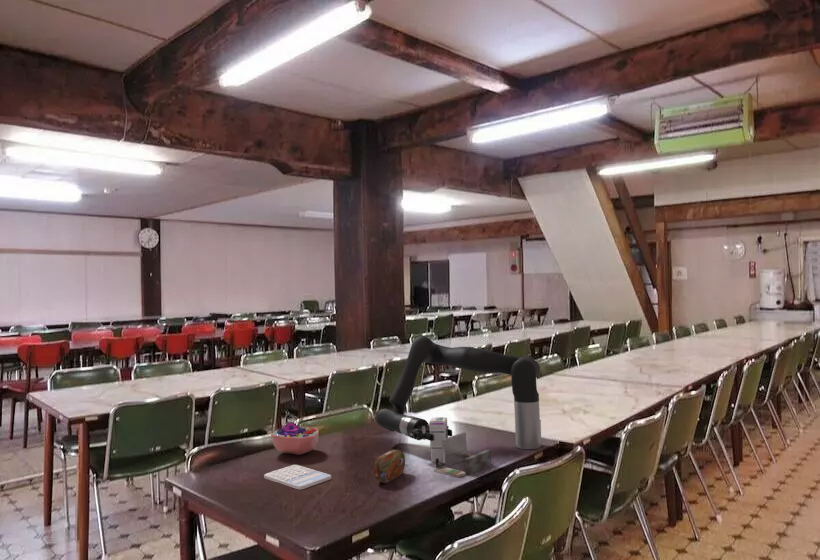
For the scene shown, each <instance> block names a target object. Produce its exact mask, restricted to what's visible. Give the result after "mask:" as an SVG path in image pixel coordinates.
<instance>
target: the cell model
mask: <svg viewBox="0 0 820 560" xmlns="http://www.w3.org/2000/svg"><path fill="white" fill-rule="evenodd" d="M269 434H270V436H271V439H272V444H273V446H274V448H275V449H276V450H277V451H278V452H280V453H283V454H293V455H298V456H300V455H303V454H306V453H307V454H308V453H310V452H311V451H313V450H314V448H315V447H316V445H317V443H318V442H319V429H318V428H317V427H314V426H312V427H311V426H304V425H303V426H301V425H299V426H298V425H297V423H295V422H292V421H290V422H289V421H288V422H287V423H285V424H284V426H283V427H281V428H277V429H275V430H273V431H271V432H270V433H269Z"/></svg>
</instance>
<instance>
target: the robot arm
mask: <svg viewBox="0 0 820 560" xmlns="http://www.w3.org/2000/svg"><path fill="white" fill-rule="evenodd" d="M423 363H425V364H437V365H445V366H450V367H453V368H457V369H461V370H465V371H470V372H474V373H481V374H483V373H484V374H504V375H510V377H511V389H512V392H511V393H512V395H513V402H514V403H513V405H514V406H513V407H514V408H513V409H514V424H515V425H514V429H515V430H514V432H515V433H514V434H515V447H517V448H518V449H521V450H536V449H540V448H541V446H542V421H541V418H540V417H541V415H540V395H539V392H538V389H537V378H538V376H539V375H540V372H541V367H540V365H539V362H538V361H537V360H536V359H534V358H533V357H529V356H519V355H507V354H504V353H503V354H502V353H499V352H496V351H493V350H492V351H490V350H487V349H483V348H477V347H473V346H457V347H455V346H454V347H449V346H445V345H440V344H438V343H435V342H433V341H432V339H431V338H430V337H428V336H424V335H421V336H418V337H416V338H415V339H414V340H413V341H412V343H411V346H410V348H409V353H408V356H407V358H406V362H405V363H404V367H403V370H402V372H401V374H400V377H399V378H398V381H397V383H396V385H395V387H394V389H393V390H392V393H391V395H390V397H389V399H388V401H389V403H390V404H391V405H392V406H393V409H392V410H391V409H389V408H382V409H380V410H378V411H377V412H376V415H375V422H376V423H377V425H378V426H380V427H381V428H383V429H386V430H387V431H390V432H397V433H399V434H401V435H404V436H406V437H409V438H411V439H414V440H416V441H422V440H424V441H425V440H427V441H429V442H430V441H434V435H433V434H430V427H429V423H428V422H429V421H427V420H426V419H424V418H421V417H417V416H412V415H407V414H405V412H406V407H407V404H408V402H409V400H410V398H411V396H412V395H413V392H414V389H415V384H416V379H417V376H418V373H419V370H420V368H421V366H422V365H423ZM447 427H448V437H451V436H453V430H452V429H450V428H449V425H447Z"/></svg>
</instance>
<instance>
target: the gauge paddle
mask: <svg viewBox="0 0 820 560" xmlns="http://www.w3.org/2000/svg"><path fill="white" fill-rule="evenodd" d="M442 447H443V463H439V459H438V458H436V462H435V468H440V467H442V466H443V467H446V468H447V467H449V466H451V465H453V464H455V463H458V462H461V461H462V460H464V459H465V458H467V454H468V453H467V450H468V449H467V447H468V446H467V431H466V432H465V431H463V432H460V433H457V434H455V435H452V436H448V438H445V439H442Z"/></svg>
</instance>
